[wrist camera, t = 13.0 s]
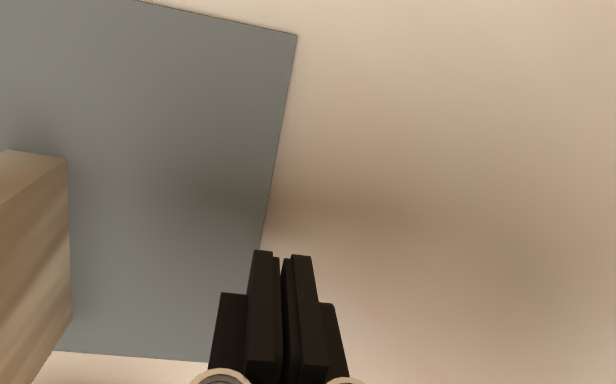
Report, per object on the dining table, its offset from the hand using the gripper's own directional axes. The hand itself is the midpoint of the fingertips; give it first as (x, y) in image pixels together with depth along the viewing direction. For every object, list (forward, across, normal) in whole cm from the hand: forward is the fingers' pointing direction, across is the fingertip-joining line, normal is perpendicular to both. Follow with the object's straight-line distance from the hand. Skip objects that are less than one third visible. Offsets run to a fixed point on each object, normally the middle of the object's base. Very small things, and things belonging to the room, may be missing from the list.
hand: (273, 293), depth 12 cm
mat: (+4, +8, 0) cm, 9 cm away
